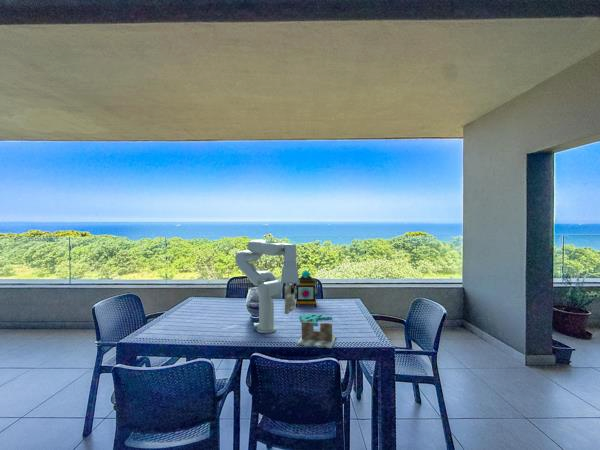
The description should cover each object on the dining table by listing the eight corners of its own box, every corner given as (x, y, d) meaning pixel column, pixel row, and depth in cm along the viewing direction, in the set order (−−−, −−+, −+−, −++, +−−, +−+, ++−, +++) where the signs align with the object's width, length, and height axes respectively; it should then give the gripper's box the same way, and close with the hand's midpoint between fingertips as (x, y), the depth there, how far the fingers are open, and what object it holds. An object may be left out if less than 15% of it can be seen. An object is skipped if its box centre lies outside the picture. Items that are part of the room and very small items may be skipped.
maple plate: (284, 313, 190) (285, 286, 191) (291, 308, 206) (292, 283, 206) (288, 314, 190) (288, 286, 190) (294, 308, 205) (295, 283, 206)
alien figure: (332, 319, 237) (310, 315, 249) (332, 316, 237) (310, 312, 249) (315, 326, 221) (293, 321, 234) (315, 323, 221) (293, 318, 234)
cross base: (297, 345, 185) (297, 325, 185) (304, 334, 203) (304, 316, 203) (331, 348, 181) (331, 328, 181) (335, 337, 198) (335, 319, 198)
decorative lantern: (295, 302, 288) (295, 268, 288) (317, 302, 287) (317, 268, 287) (293, 308, 268) (293, 272, 268) (317, 308, 267) (317, 272, 267)
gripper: (275, 264, 196) (275, 294, 196) (301, 265, 193) (301, 296, 193) (279, 262, 204) (279, 292, 204) (304, 263, 200) (304, 293, 200)
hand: (290, 293), depth 198 cm, fingers closed on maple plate, 2 cm apart
